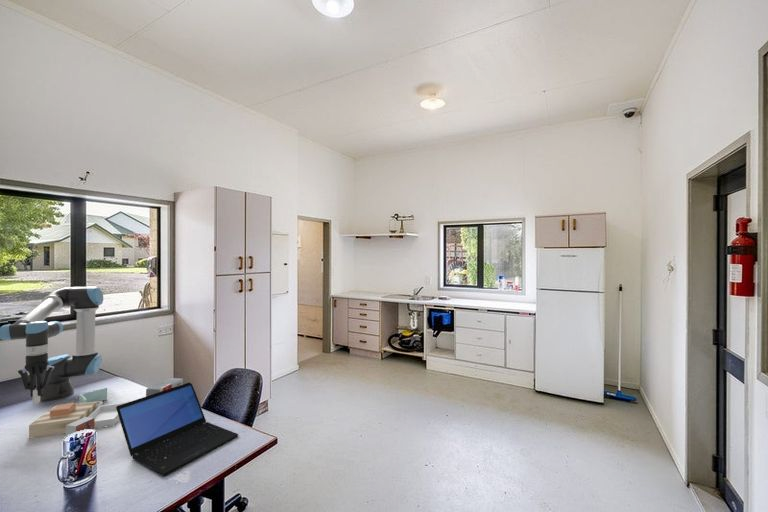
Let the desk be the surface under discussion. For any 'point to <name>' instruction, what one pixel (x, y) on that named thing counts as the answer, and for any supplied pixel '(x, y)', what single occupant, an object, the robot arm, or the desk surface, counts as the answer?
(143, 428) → the laptop
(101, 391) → the l-shaped corner panel
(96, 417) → the box
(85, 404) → the plate
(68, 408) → the tile
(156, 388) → the hard drive box
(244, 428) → the desk surface
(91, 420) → the small box
